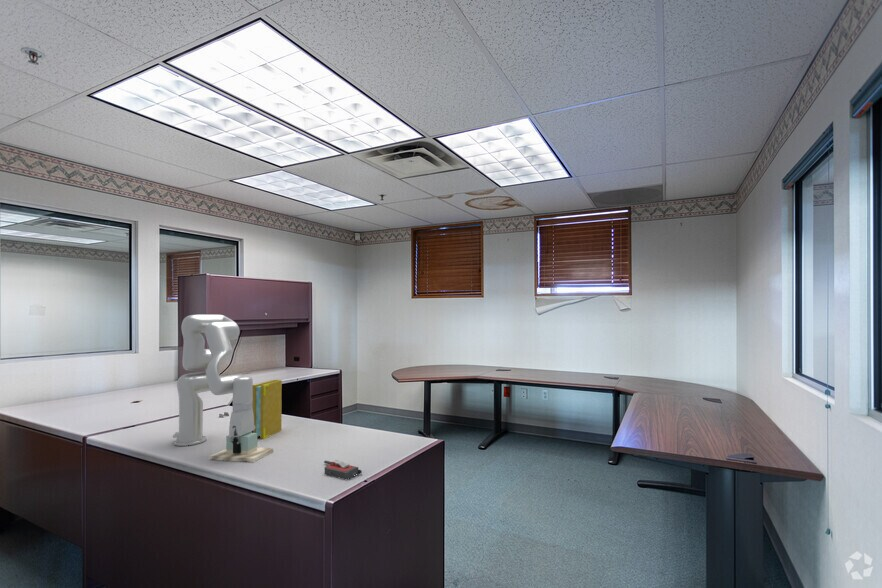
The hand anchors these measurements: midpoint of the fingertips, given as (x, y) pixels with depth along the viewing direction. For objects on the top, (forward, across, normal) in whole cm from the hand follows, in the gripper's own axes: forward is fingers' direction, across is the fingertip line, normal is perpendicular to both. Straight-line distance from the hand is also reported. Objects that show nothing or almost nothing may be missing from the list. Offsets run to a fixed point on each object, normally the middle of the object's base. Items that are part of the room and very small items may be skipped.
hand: (242, 450), depth 172 cm
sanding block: (+1, 0, 0) cm, 1 cm away
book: (+2, -31, -9) cm, 32 cm away
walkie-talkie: (+3, +10, +47) cm, 49 cm away
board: (+2, 0, 0) cm, 2 cm away
